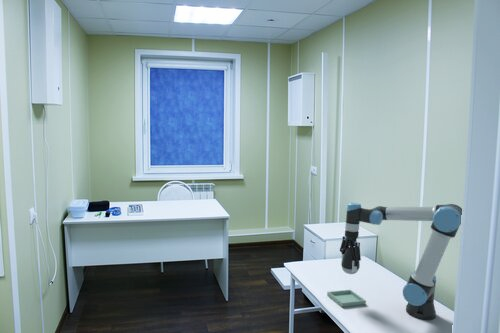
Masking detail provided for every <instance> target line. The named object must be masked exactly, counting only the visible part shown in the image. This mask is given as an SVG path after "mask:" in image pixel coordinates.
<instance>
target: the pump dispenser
mask: <svg viewBox="0 0 500 333" xmlns="http://www.w3.org/2000/svg"><path fill="white" fill-rule="evenodd" d="M343 248H344V249H346V252H345V253H344V256H343V259H342V258H341V261H342V263H340V266H341V269H342V271H343V272H344V273H346V274H349V275H354V274H357V273H358V272H359V269H360V267H361V266H360V261H358V265H357V272H352V263H353V260H354V258H353V254H352V249H351V248H350V246H349V248H347V247H345V246H344V247H343ZM355 259H356V258H355Z"/></svg>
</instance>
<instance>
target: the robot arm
mask: <svg viewBox="0 0 500 333" xmlns="http://www.w3.org/2000/svg"><path fill="white" fill-rule="evenodd" d="M462 209H463V208H462V207H461V206H459V205H457V204H454V203H448V204H435V206H381V205H379V206H375V207H373V208H371V209H368V208H362V205H361V203H359V202H349V203H348V204H347V207H346V217H345V226H344V228H345V231H344V236H342V240H341V245H340V248H339V252H340V253H341V261H340V262H341V263H342V259H343V256H344V253H345V252H346V249H344V248H343V247H344V246H345V247H347V248H349V247H350V248H351V249H352V254H353V258H354V260H353V263H352V272H357V273H358V271H357V265H358V261H359V262H360V261H361V260H362V258H361V243H360V242H358V241H357V239H358V238H359V233H360V232H359V229H360V222H361V223H366V224H371V225H377V226H378V225H379V226H380V225H381V224H382V222H383V221H409V222H410V221H412V222H413V221H414V222H415V221H416V222H418V221H419V222H432V223H431V225H430V229H431V233H430V236H429V238H428V240H427V243H426V246H425V248H424V250H423V251H422V252H423V253H422V256H421V258H420V260H419V262H418V265H417V266H416V267H417V268H416V269H415V270H413V272H411V273H410V276H409V278H408V280H407V282H406V284H405V285H404V286H403V288H402V296H403V299H404V300H405V301H406V302H407V304H406V305H405V306H406V307H405V312H406V313H407V315H409V316H412V317H414V318H415V319H420V320H425V321H426V320H428V321H429V320H434V319H435V318H436V316H437V312H436V307H435V302H434V301H435V293H436V292H435V291H436V282H437V276H436V275H435V274H436V272H437V269H438V268H439V265H440V263H441V261H442V258H443V256H444V253H445V251H446V249H447V247H448V245H449V242H450V240H451V239H453V238H455V237H456V235H457V233H458V230H459V228H460V226H461V225H462V224H461V215H462ZM355 258H356V259H355ZM341 263H340V264H341Z"/></svg>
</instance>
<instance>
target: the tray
mask: <svg viewBox="0 0 500 333" xmlns="http://www.w3.org/2000/svg"><path fill="white" fill-rule="evenodd" d="M326 296H327V297H328V298H329V299H330V300H332V301H333V302H334V303H335V304H337V305H338V306H339V307H340V308H349V307H357V306H358V307H360V306H366V303H367V301H366V299H364V298H363V297H362V296H360V295H358V294H357V292H354V291H353V290H352V289H343V290H334V291H333V290H330V291H327V294H326Z"/></svg>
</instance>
